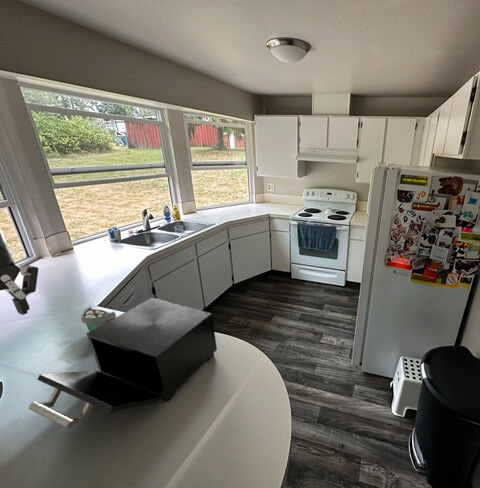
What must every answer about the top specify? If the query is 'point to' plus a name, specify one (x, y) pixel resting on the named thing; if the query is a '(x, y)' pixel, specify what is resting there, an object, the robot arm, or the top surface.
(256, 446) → the top surface
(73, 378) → the oven door
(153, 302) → the oven
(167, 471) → the top surface
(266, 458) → the top surface
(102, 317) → the food container
